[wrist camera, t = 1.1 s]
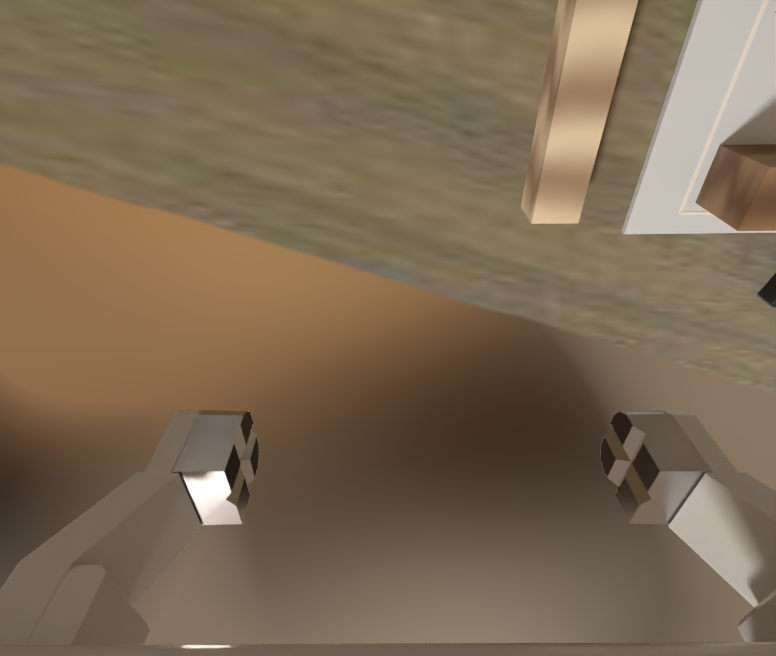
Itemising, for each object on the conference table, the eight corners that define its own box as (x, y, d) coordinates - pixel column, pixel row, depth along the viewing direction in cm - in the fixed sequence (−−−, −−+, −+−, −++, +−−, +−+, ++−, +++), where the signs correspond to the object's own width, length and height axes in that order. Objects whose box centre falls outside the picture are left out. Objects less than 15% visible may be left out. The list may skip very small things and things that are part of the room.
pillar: (719, 144, 37) (769, 167, 32) (779, 144, 37) (837, 166, 32) (695, 202, 40) (737, 231, 35) (750, 202, 40) (800, 230, 35)
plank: (573, -89, 29) (596, -99, 26) (634, -89, 29) (665, -99, 26) (519, 205, 41) (531, 223, 38) (563, 205, 41) (578, 223, 38)
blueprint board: (746, -146, 27) (752, -148, 27) (1004, -148, 28) (1015, -151, 27) (621, 231, 42) (624, 234, 42) (788, 229, 43) (793, 232, 42)
